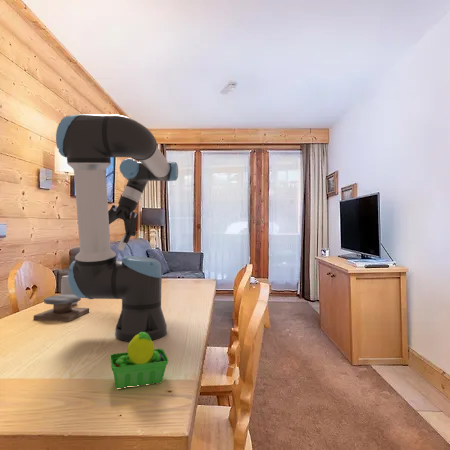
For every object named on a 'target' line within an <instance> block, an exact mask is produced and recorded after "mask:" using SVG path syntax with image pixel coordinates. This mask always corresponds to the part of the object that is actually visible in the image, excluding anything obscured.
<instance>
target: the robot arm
mask: <svg viewBox="0 0 450 450" xmlns="http://www.w3.org/2000/svg"><path fill="white" fill-rule="evenodd" d="M55 143H56V148H57V149H58V153H59V154H60V156H62V157H64V158H66V162H67V165H68V166H69V167H71V169H72V170H73V178H74V188H75V189H74V191H75V199H76V200H75V202H76V204H75V205H76V216H77V225H78V226H77V227H78V239H79V243H78V244H79V252H78V253H76V255H75V256H74V260H73V261H72V262H71V263H70V265H69V268H68V271H69V272H67V275H68V283H69V286H70V289H71V291H72V292H73V294H74V295H76V296H77V297H79V298H81V299H88V300H95V299H97V300H121V311H120V314H119V318H118V320H117V323H116V325H115V337H116V338H117V340H121V341H124V342H130V341H131V340H132V339H133V338H134V337H135V336H136V335H137V334H139V333H140V332H146V333H147V334H148V335H149V336H150V338H151V340H152V341H154V340H157V339H160V338H162V337H164V336H165V335H166V334H167V332H168V331H167V330H168V329H167V327H168V326H167V322H166V319H165V316H164V312H163V310H162V283H163V282H162V277H163V274H162V264H161V262H160V261H159V260H158V259H156V258H152V257H148V256H139V255H125V256H123V257H122V259H121V260H117V253H116V251H114V250H113V249H112V248H111V237H110V236H111V234H110V225H111V224H112V223H114V222H115V221H116V220H119V219H120V220H123V223H124V230H125V233H123V235H122V238H121V239H120V242H119V244H118V245H117V248H116V250H119V251H122V252H123V251H124V250H125V247H126V245H127V244H128V243H129V240H130V239H131V237H136V236H137V235H136V234H137V219H138V216H139V214H138V213H137V212H135V210H136V208H137V207H138V202H139V201H140V200H141V197H142V194H143V193H144V191H145V188H146V187H147V183H148V182H149V181H150V182H153V181H154V182H157V181H158V182H162V181H163V182H175V181H177V180H178V178H179V166H178V162H175V161H168V160H167V159H166V156H165V155H164V154H163V153H162V152H161V150H160V149H159V147H158V143H157V139H156V136H154V134H153V133H152V131H151V130H149V128H148V127H146V126H145V125H144V124H142V123H140V122H138V120H135V119H132V118H131V117H128V116H125V115H120V114H87V113H86V114H73V115H66V116H64V117H63V118H62V119H61V120H60V121H59V123H58V125H57V128H56V133H55ZM111 158H125V159H123V160H122V161H121V162H120V164H119V167H118V168H119V173H120V174H121V175H122V177H123V178H125V179H126V180H127V182H126V185H125V187H124V189H123V191H122V193H121V196H120V198H119V199H118V202H117V203H118V205H115V204H112V205H111V207H110V209H109V202H108V201H109V200H108V186H107V170H108V167H110V166H111V164H112V163H111V161H112V160H111Z"/></svg>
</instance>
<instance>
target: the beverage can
mask: <svg viewBox="0 0 450 450" xmlns="http://www.w3.org/2000/svg"><path fill="white" fill-rule="evenodd" d="M60 295H74V294H73V292H72V291H71V289H70V286H69V283H68V274H67V275H62V276H61V279H60ZM78 303H79V301H78V302H74V303H72V305H73V306H75V305H77V304H78Z"/></svg>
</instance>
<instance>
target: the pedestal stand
mask: <svg viewBox="0 0 450 450" xmlns="http://www.w3.org/2000/svg"><path fill="white" fill-rule="evenodd" d="M81 300H82V298H79V297H77V296H76V295H61V294H57V295H53V296H48V297H45V298H43V303H44V304H46V305H52V306H53V307H52V308H50V309H47V310H45V311H43V312H42V311H41V312H40V313H36V314H33V320H34V321H45V322H46V321H48V322H64V323H65V322H66V323H69V322H70V321H73V320H75V319H77V318H80V317H82V316H83V315H85V314H88V313H90V308H89V307H73V306H72V303H74V302H78V303H79V302H80V301H81Z"/></svg>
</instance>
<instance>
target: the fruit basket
mask: <svg viewBox="0 0 450 450" xmlns="http://www.w3.org/2000/svg"><path fill="white" fill-rule="evenodd" d="M109 359H110V369H111V371H112V372H113V377H114V382H115V386H116V389H117V388H124V387H127V386H137V385H146V384H151V385H153V384H152V383H159V384H161V383H160V382H162V383H163V379H164V376H165V375H164V374H165V371H166V368H167V365H168V362H169V358H168V356H167V354H166V352H165V351H164V349H162V348H155V344H154V342H153V340H151V338H150V336H149V335H148V334H147V333H146V332H140V333H139V334H137V335H136V336H135V337H134V338H133V339H132V340H131V341H129V343H128V345H127V352H120V353H112V354H110V356H109ZM146 386H147V385H146Z"/></svg>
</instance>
